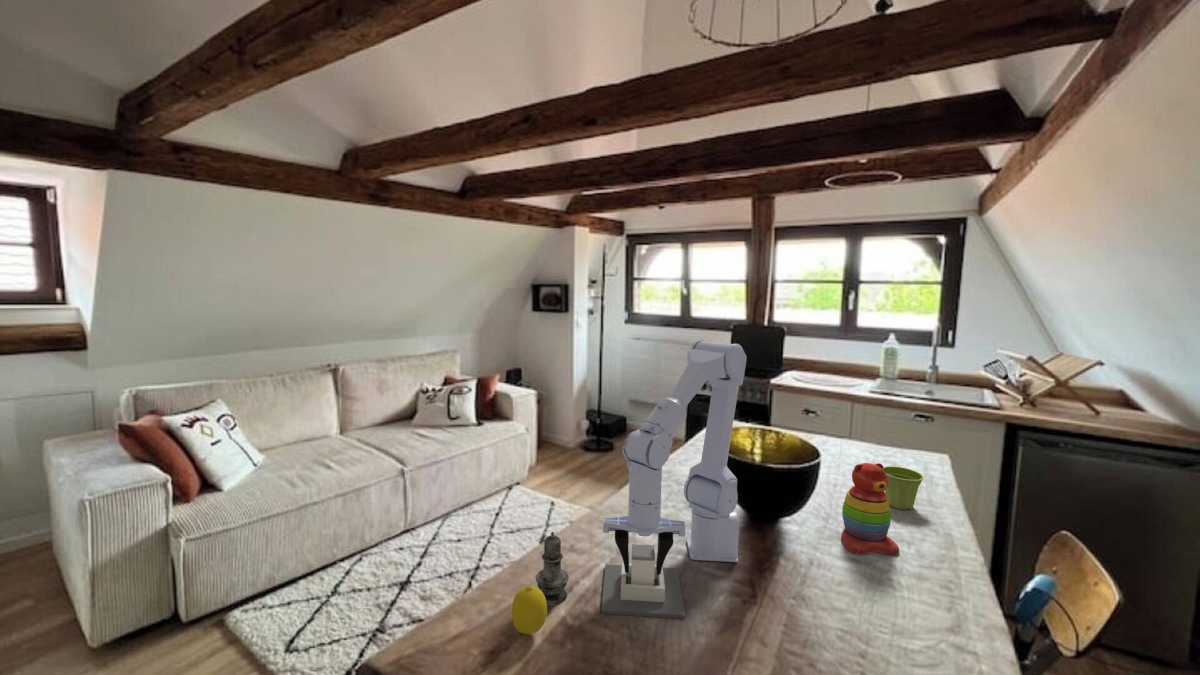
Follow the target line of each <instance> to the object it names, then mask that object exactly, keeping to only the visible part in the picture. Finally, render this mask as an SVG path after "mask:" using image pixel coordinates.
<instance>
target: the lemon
mask: <svg viewBox="0 0 1200 675" xmlns="http://www.w3.org/2000/svg"><path fill="white" fill-rule="evenodd" d="M547 616H548V605H547V603H546V598H545V596H544V594H543V592H542V591H541V590H540V589H539V587H538V586H537V587H536V586H535V585H526V586H524V587H521V589H520V590H518V591H517V593H516V594H515V595H514V598H513V600H512V605H511V619H512V622H513V625H514V627H515V629H516V630H518V632H520V633H521V634H525V635H528V636H530V635H532V634H535V633H537V632H539V631H540V630H541V629H542V627H543V626H544V625H545V622H546V620H547Z"/></svg>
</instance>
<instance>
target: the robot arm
mask: <svg viewBox="0 0 1200 675" xmlns="http://www.w3.org/2000/svg"><path fill="white" fill-rule="evenodd" d="M686 358H687V365H686V367H685V368H684V371H683V373H682V374H681V376H680V378H679V379H678V381H677V383H676V385H675V387H674V388H673V390H672V391H671V394H670V395H669V397H663V398H660V400H659V401H658V402H657V404H656V405H655V407H654V408H653V409H652V411H651V413H650V414H649V415H648V417H647V418H646V419H645V421H644V422H643V424H642V425H641V427H640V428H639V429H636V430H634V431H631V432H630V433H629V434H628V435H627V437H626V438H625V441H624V445H623V446H622V447H621V448H622V453H623V454H622V455H623V456H624V458H625V460H626V468H627V470H628V472H629V474H628V475H629V476H628V477H629V478H628V479H629V480H628V507H627V508H628V513H627V515H624V516H623V515H622V516H615V517H603V524H602V525H603V526H602V532H603V533H606V534H607V533H608V534H609V533H610V532H614V541H615V544H616V546H617V548H618V550H619V552H620V556H621V558H622V563H624V567H625V573H629V563H630V554H629V542H630V541H629V539H630V538H629V533H635V534H638V536H640V537H651V535H652V534H657V553H656V554H657V555H656V560H655V562H656V563H655V564H656V571H657V574H661V569H662V566H663V565H664V562H665V560H666V558H667V555H668V553H669V552H670V550H671V548H672V547H673V545H674V535H677V536H679V537H681V538H683V537H684V538H685V537H686V523H685V521H683V520H675V519H670V518H666V517H661V509H662V508H661V507H662V480H663V479H662V476H663V473H662V472H663V467H664V466H665V464H666V463H667V462H668V461H669V457H670V454H671V448H672V446H673V443H674V441H673V439H674V437H675V436H676V434H677V433H678V432H679V429H680V428H681V426H682V425H683V423H684V422H685V420H686V418H687V411H686V407H687V406H688V405H689V403H690V402H691V401H692V400H693V398H694V397H695V396H696V395H697V394H698V392H699V391H700V390H701V388H702V387H703V386H704V385H705V383H706V382H707V381H708V383H709V385H710V386H711V394H710V401H709V408H708V414H707V421H706V427H705V434H704V441H703V445H702V453H701V460H700V462H698V463H697V464H695V465H693V466H691V467H690V468H689V474H688V477H687V479H686V481H685V483H684V486H683V495H684V496H683V497H684V500H686V502H688V507H689V509H691V527H690V528H691V529H690V538H689V537H688V538H687V539H686V543H687V544H686V545H687V548H688V553H689V557H690V559H691V560H693V561H708V562H726V563H727V562H728V563H729V562H730V563H738V562H739V558H738V555H739V536H740V535H739V534H740V530H739V529H740V528H739V526H740V523H739V517H738V514H737V511H735V509H736V506H737V504H738V499H739V498H738V495H739V494H738V479H737V477H736V475H735V474H733V472H732V470H730V469H729V467H728V459H729V451H730V447H731V439H732V435H733V434H732V432H733V425H734V421H735V420H734V419H735V413H736V408H737V407H736V406H737V401H738V394H739V393H738V392H739V389H740V386H743V384H744V378H745V370H746V366H747V358H748V357H747V355H746V353H745V350H744V349H743V347H742V345H740V344H739V343H725V342H724V343H723V342H715V341H709V340H707V341H706V340H704V339H697V340H696V341H695V342H694V343H692V346H690V350H689V351H688V352H687V357H686ZM663 567H664V566H663Z"/></svg>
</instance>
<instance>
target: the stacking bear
mask: <svg viewBox="0 0 1200 675" xmlns="http://www.w3.org/2000/svg"><path fill="white" fill-rule="evenodd" d="M883 467H884V465H883V464H882V463H878V462H877V463H875V464H874V463H870V462H863V463H860V464H859V463H858V464H856V465H854V467H853V470H852V473H851V480H852V483H853V485H852V487H850V489H849V490H847V492H846V495H845V497H844V501H843V505H842V511H841V512H842V514H841V515H842V521H843V526H844V528H843V530H842V532H841V535H840V540H841V543H842V545H843V546H844V547H845V548H846V549H847V550H848V551H849V552H851V553H853V554H856V555H863V556H864V555H868V554H870V553H881V554H885V555H890V556H894V555H899V553H900V547H899V546H898V544H897V542H895V541H894V540H892V538H890V537H889V536H888V533H889V529H890V526H891V522H892V521H891V520H892V512H891V505H889V501H888V499H887V498H888V497H887V495H886V493H885V490H886V488H887V487H888V484H889V480H888V477H887V475H886V473H885V471H884V470H883Z"/></svg>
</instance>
